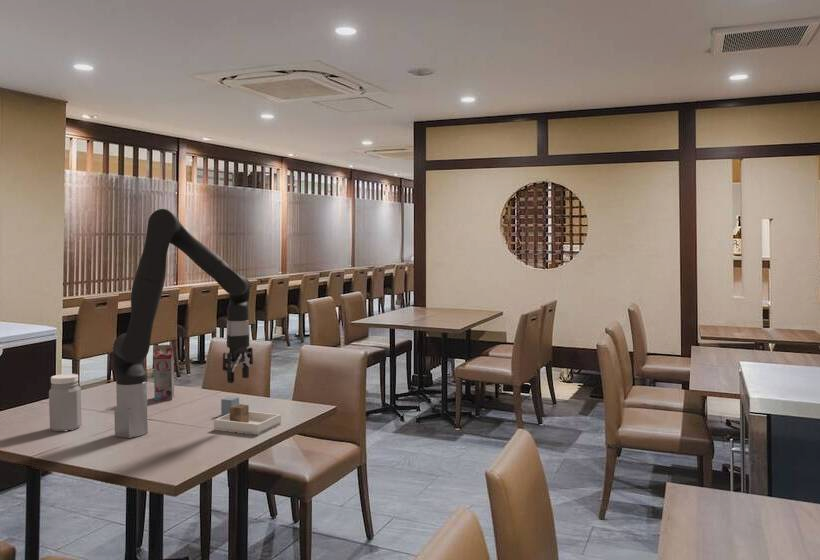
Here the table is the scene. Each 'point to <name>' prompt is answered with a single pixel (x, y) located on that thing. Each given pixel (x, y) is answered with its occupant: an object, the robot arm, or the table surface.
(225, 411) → the slate block
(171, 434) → the table surface
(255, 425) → the tray
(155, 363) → the printed cardboard box
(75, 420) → the jar
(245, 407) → the walnut block
